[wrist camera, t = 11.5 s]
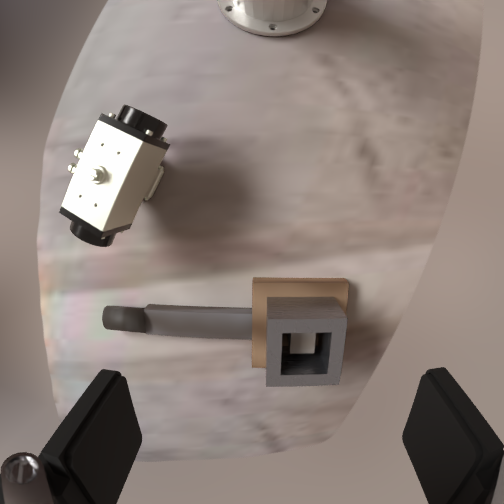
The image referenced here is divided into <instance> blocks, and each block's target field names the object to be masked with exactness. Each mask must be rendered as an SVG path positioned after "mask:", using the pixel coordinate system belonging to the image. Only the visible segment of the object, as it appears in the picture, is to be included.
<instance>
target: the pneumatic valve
mask: <svg viewBox="0 0 504 504" xmlns="http://www.w3.org/2000/svg"><path fill="white" fill-rule="evenodd" d="M115 116H116V115H115V114H113V113H110V114H109V116H107V115H104V114H102V113H101V115H100V117H99V119H98V121H97V123H96V125H95V127H94V130H93V132H92V134H91V136H90V138H89V140H88V142H87V144H86V147H85V149H84V150H82V149H81V148H78V149H76V151H75V153H74V156H75V157H76V158H79V159H80V160H79V163H78V165H76V164H74V163H71V164H70V165H69V167H68V171H69V172H70V173H73V174H74V175H73V177H72V180H71V182H70V185H69V187H68V190H67V193H66V195H65V198H64V201H63V203H62V206H61V209H60V212H59V213H61V214H62V215H64V216H65V217H67V218H69V219H70V220H72V222H71V225H70V230H71V232H72V233H73V234H74V235H75V236H76V237H77V238H79V239H81V240H82V241H84V242H86V243H89V244H92V245H95V246H100V247H107V246H110V245H111V244H112V243H113V240H114V238H115V235H116V233H118V232H121V233H123V231H124V230H127V229H130V227H131V225H132V223H133V220H134V218H135V216H136V214H137V211H138V209H139V207H140V205H141V203H142V200H143V198H145V199H144V200H149V198H152V196H153V194H154V192H155V190H156V188H157V186H158V184H159V181H160V179H161V177H162V175H163V173H164V171H163V169H164V167H162V166H160V163H161V161H162V159H163V157H164V155H165V154H166V152H167V150H168V148H169V146H170V144H168V143H166V141H167V139H166V138H164V137H162V135H163V133H164V131H165V130H166V128H167V124H165V123H164V122H162V121H160V120H158V119H156V118H154V117H152V116H150V115H148V114H146V113H144V112H142V111H140V110H137V109H135V108H133V107H130V106H128V105H123V107H122V109H121V111H120V112H119V114H118V116H117V118H116V119H114V118H115Z"/></svg>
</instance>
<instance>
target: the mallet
mask: <svg viewBox="0 0 504 504" xmlns="http://www.w3.org/2000/svg"><path fill="white" fill-rule="evenodd" d="M348 289H349V283H348V281H347V280H346V279H345V278H256V277H253V285H252V308H229V307H198V306H174V305H155V304H148V305H147V307H146V308H132V307H119V306H106V307H105V308H104V311H103V316H102V320H103V325H104V327H105V328H106V329H110V330H120V331H130V332H141V333H146V334H152V335H165V336H180V337H197V338H219V339H252V368H266V317H267V297H334V298H335V299H336V301H337V302H338V304H339V305H340V307H341V309H342V310H343V312H344V313H345V315H346V310H347V300H348ZM318 340H319V333H282V346H289V351H290V354H292V353H314V349H315V346H318Z"/></svg>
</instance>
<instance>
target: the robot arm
mask: <svg viewBox="0 0 504 504" xmlns="http://www.w3.org/2000/svg"><path fill="white" fill-rule="evenodd" d="M217 1H218V5H219V8H220V10H221V12H222V14H223V15H224V16H225V17H226V18H227V19H228V20H229V21H230V22H231V23H232V24H234V25H235V26H237V27H239V28H241V29H242V30H244V31H247V32H250V33H253V34H258V35H263V36H286V35H290V34H295V33H298V32H300V31H303V30H305V29H307V28H309V27H310V26H312V25H313V24H314V23H316V22H317V21H318V20H319V19H320V17H321V16H322V14H323V12H324V10H325V7H326V3H327V0H217ZM229 11H230V12H229ZM314 12H315V13H314ZM271 29H274V30H271ZM402 437H403V438H402V439H403V443H404V446H405V448H406V450H407V453H408V455H409V457H410V460H411V462H412V464H413V467H414V469H415V471H416V474H417V476H418V479H419V481H420V483H421V486H422V488H423V491H424V493H425V496H426V498H427V501H428V503H429V504H504V450H503V448H504V445H503V443H502V442H501V441H500V439H499V438H498V436H497V435H496V434H495V432H494V431H493V429H492V428H491V427H490V425H489V424H488V423H487V421H486V420H485V419H484V417H483V416H482V415H481V413H480V412H479V410H478V409H477V408H476V406H475V405H474V404H473V402H472V401H471V400H470V399H469V397H468V396H467V395H466V393H465V392H464V391H463V390H462V388H461V387H460V386H459V385H458V383H457V382H456V381H455V379H454V378H453V377H452V375H451V374H450V373H449V372H448V370H447V369H446V368H444V367H441V368H435V369H429V370H427V372H426V374H424V375H423V376H422V377H421V380H420V383H419V387H418V390H417V393H416V396H415V399H414V402H413V405H412V408H411V412H410V414H409V417H408V420H407V423H406V426H405V428H404V431H403V435H402ZM141 443H142V434H141V431H140V427H139V424H138V421H137V417H136V414H135V410H134V407H133V403H132V400H131V396H130V392H129V388H128V384H127V380H126V378H125V377H124V376H122V375H121V373H120V372H118V371H112V370H105V369H103V370H101V371H100V372H99V373H98V375H97V376H96V377H95V379H94V380H93V381H92V382H91V384H90V385H89V386H88V388H87V389H86V390H85V392H84V393H83V394H82V396H81V397H80V398H79V400H78V401H77V403H76V404H75V405H74V407H73V408H72V409H71V411H70V412H69V413H68V415H67V416H66V417H65V419H64V420H63V422H62V423H61V424H60V426H59V427H58V429H57V430H56V431H55V433H54V434H53V436H52V437H51V438H50V440H49V441H48V443H47V444H46V445H45V447H44V448H43V450H42V451H41V453H40V455H39V456H38V457H37V456H36V455H34V454H32V453H27V452H20V453H16V454H13V455H11V456H10V457H8V458H7V459H6V460H5V461H4V462H3V464H2V466H1V474H0V504H116V503H117V501H118V499H119V496H120V494H121V491H122V489H123V486H124V484H125V482H126V479H127V477H128V474H129V472H130V470H131V467H132V465H133V462H134V460H135V458H136V455H137V453H138V451H139V448H140V446H141Z"/></svg>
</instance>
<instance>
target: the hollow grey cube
mask: <svg viewBox="0 0 504 504" xmlns="http://www.w3.org/2000/svg"><path fill="white" fill-rule="evenodd" d="M347 319H348V318H347V317H346V315H345V313H344V312H343V310H342V309H341V307H340V305H339V304H338V302H337V301H336V299H335V298H334V297H267V317H266V387H279V386H319V385H338V384H339V382H340V375H341V368H342V361H343V353H344V345H345V337H346V329H347ZM282 333H319V340H318V346H315V349H314V353H292V354H290V351H289V346H282Z"/></svg>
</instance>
